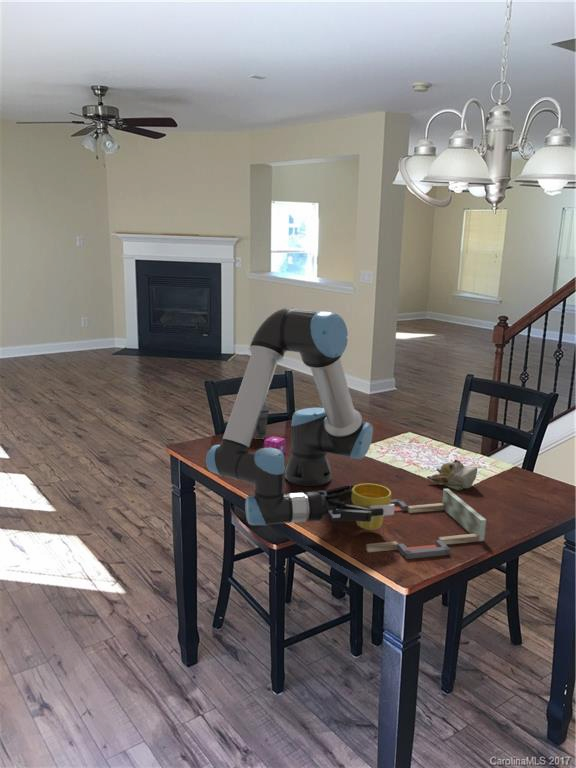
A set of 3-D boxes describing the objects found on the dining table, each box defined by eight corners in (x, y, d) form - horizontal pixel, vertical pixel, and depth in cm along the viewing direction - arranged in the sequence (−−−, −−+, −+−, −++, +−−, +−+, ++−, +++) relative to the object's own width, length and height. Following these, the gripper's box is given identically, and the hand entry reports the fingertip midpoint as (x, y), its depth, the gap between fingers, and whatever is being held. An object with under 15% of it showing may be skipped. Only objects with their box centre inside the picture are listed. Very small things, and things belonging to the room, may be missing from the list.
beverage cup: (270, 440, 239) (271, 390, 234) (251, 441, 237) (252, 391, 233) (266, 434, 246) (267, 385, 241) (248, 435, 244) (249, 386, 240)
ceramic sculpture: (472, 468, 191) (426, 460, 199) (471, 494, 192) (425, 486, 200) (482, 458, 199) (437, 452, 207) (481, 484, 201) (437, 476, 209)
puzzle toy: (263, 455, 223) (264, 440, 222) (272, 450, 228) (272, 436, 227) (277, 458, 220) (277, 443, 219) (285, 453, 225) (285, 438, 224)
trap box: (341, 516, 175) (342, 496, 174) (446, 507, 183) (448, 488, 181) (368, 552, 155) (369, 530, 154) (484, 540, 163) (486, 519, 162)
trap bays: (362, 506, 182) (362, 502, 182) (400, 503, 185) (400, 498, 184) (405, 559, 153) (406, 553, 152) (450, 554, 155) (450, 549, 155)
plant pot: (385, 516, 171) (387, 482, 168) (392, 533, 161) (394, 498, 158) (347, 515, 170) (349, 482, 168) (352, 533, 160) (354, 498, 158)
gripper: (294, 502, 172) (369, 496, 177) (317, 540, 150) (401, 533, 155) (295, 476, 170) (371, 471, 175) (318, 512, 148) (403, 505, 153)
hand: (385, 500), depth 165 cm, fingers closed on plant pot, 10 cm apart
